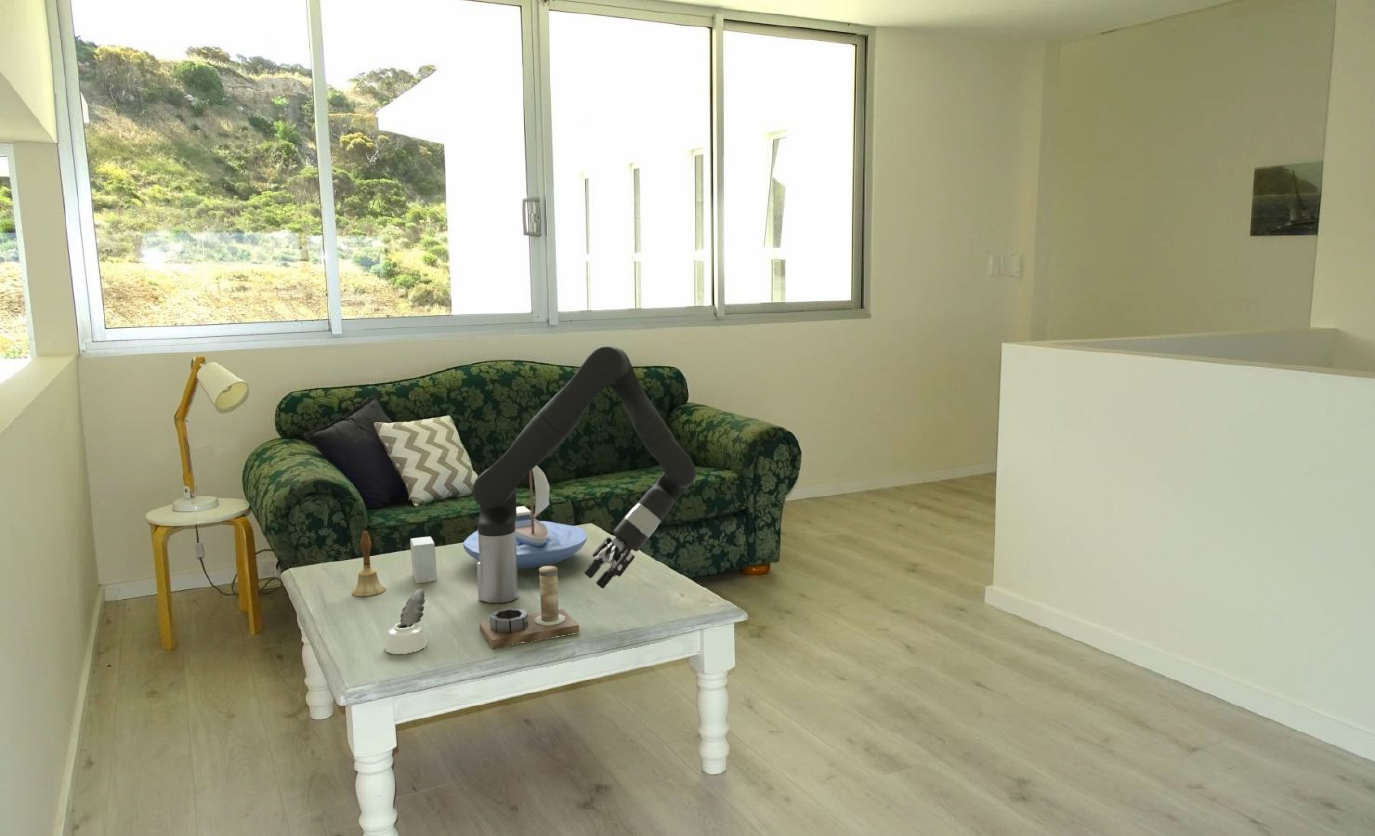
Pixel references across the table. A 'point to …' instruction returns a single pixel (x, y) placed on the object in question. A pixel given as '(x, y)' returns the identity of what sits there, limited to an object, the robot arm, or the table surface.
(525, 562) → the sailboat
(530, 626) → the walnut board
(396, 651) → the inkwell
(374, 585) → the hand bell
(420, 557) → the small box
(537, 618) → the rest disc
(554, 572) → the wooden peg
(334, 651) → the table surface
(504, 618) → the ring
